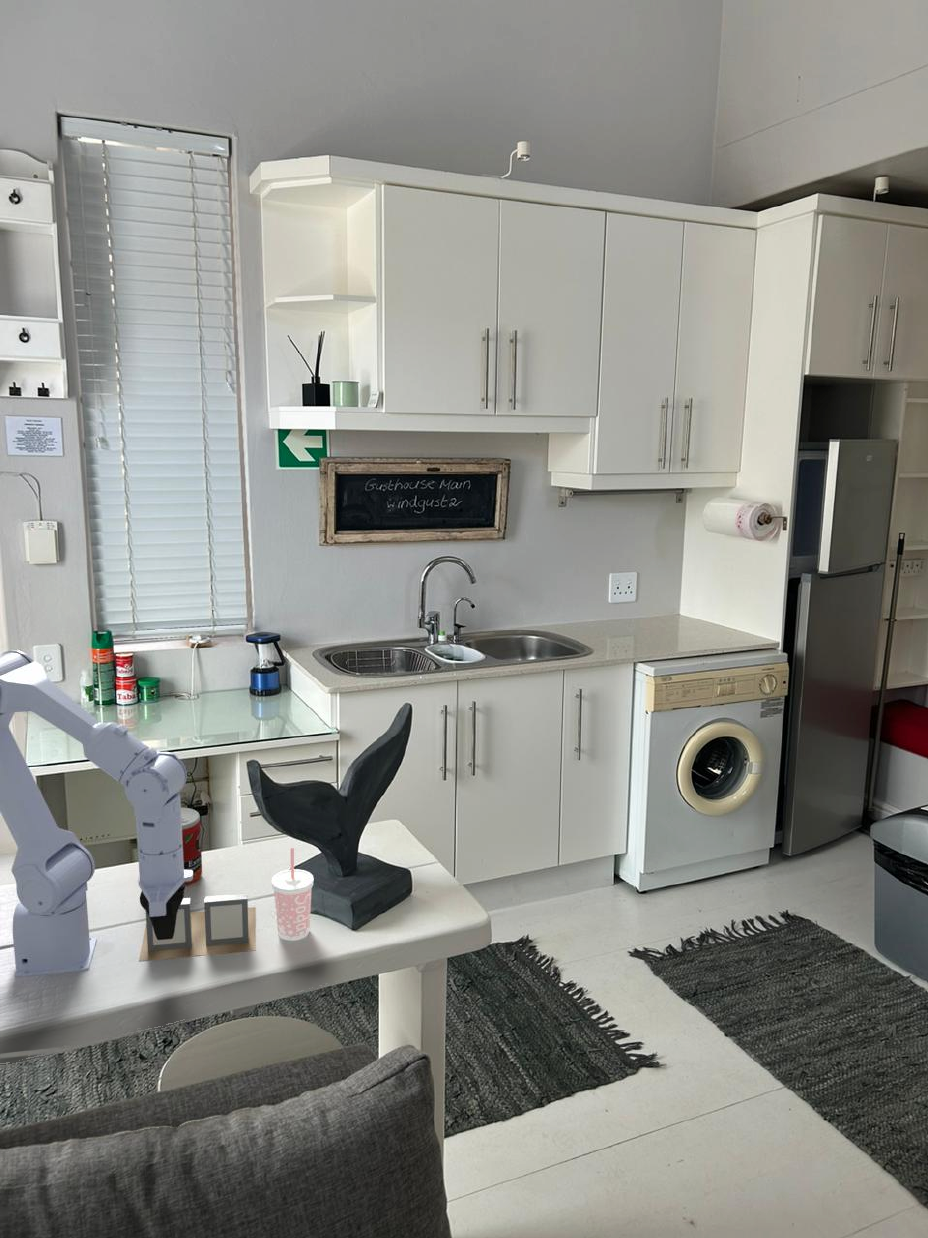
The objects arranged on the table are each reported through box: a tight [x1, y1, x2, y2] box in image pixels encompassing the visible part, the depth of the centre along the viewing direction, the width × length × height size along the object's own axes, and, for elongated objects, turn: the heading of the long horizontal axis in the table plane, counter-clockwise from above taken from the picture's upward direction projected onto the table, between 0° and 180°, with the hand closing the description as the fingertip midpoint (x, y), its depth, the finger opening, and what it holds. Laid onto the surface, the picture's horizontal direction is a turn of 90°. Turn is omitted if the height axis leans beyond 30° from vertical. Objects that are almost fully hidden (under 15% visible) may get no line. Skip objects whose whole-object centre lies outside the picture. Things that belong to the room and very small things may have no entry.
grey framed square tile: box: [145, 897, 192, 952], centre depth 138 cm, size 6×2×7 cm, turn 102°
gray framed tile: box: [203, 892, 249, 946], centre depth 140 cm, size 6×2×7 cm, turn 102°
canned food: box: [181, 806, 203, 887], centre depth 158 cm, size 8×8×11 cm
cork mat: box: [138, 907, 257, 962], centre depth 143 cm, size 16×12×1 cm
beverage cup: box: [271, 846, 315, 942], centre depth 142 cm, size 6×6×14 cm
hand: (165, 937), depth 132 cm, fingers closed
